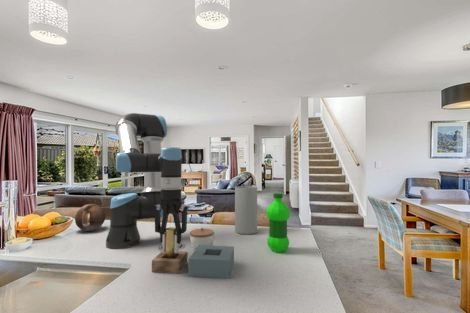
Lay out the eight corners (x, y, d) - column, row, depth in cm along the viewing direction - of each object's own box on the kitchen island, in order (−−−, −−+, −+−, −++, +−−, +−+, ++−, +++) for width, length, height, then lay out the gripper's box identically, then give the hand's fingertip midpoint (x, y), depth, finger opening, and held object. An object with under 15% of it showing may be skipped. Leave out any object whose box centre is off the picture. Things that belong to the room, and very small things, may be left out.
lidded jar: (204, 243, 119) (204, 223, 120) (218, 248, 112) (218, 227, 112) (185, 248, 112) (185, 227, 112) (199, 255, 104) (199, 232, 104)
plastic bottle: (270, 245, 117) (270, 191, 117) (292, 248, 112) (292, 193, 113) (263, 252, 108) (263, 194, 108) (287, 256, 103) (286, 195, 104)
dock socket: (188, 276, 85) (188, 258, 85) (198, 260, 99) (198, 245, 99) (229, 278, 83) (229, 260, 83) (233, 261, 97) (234, 246, 97)
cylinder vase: (243, 227, 148) (243, 185, 149) (261, 231, 141) (261, 186, 142) (230, 232, 138) (230, 187, 139) (249, 236, 131) (249, 188, 131)
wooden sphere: (87, 226, 150) (88, 201, 150) (110, 227, 148) (111, 202, 148) (67, 233, 135) (68, 206, 135) (93, 234, 133) (93, 206, 133)
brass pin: (163, 268, 91) (163, 230, 91) (167, 264, 95) (167, 227, 95) (173, 269, 90) (174, 230, 91) (177, 264, 94) (177, 227, 95)
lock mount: (151, 271, 88) (151, 260, 88) (162, 260, 98) (163, 250, 98) (179, 273, 87) (179, 261, 87) (187, 261, 97) (187, 251, 97)
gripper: (144, 189, 90) (144, 254, 90) (190, 189, 89) (189, 256, 88) (153, 187, 98) (153, 247, 97) (195, 187, 96) (195, 248, 96)
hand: (170, 251), depth 93 cm, fingers closed on brass pin, 4 cm apart
